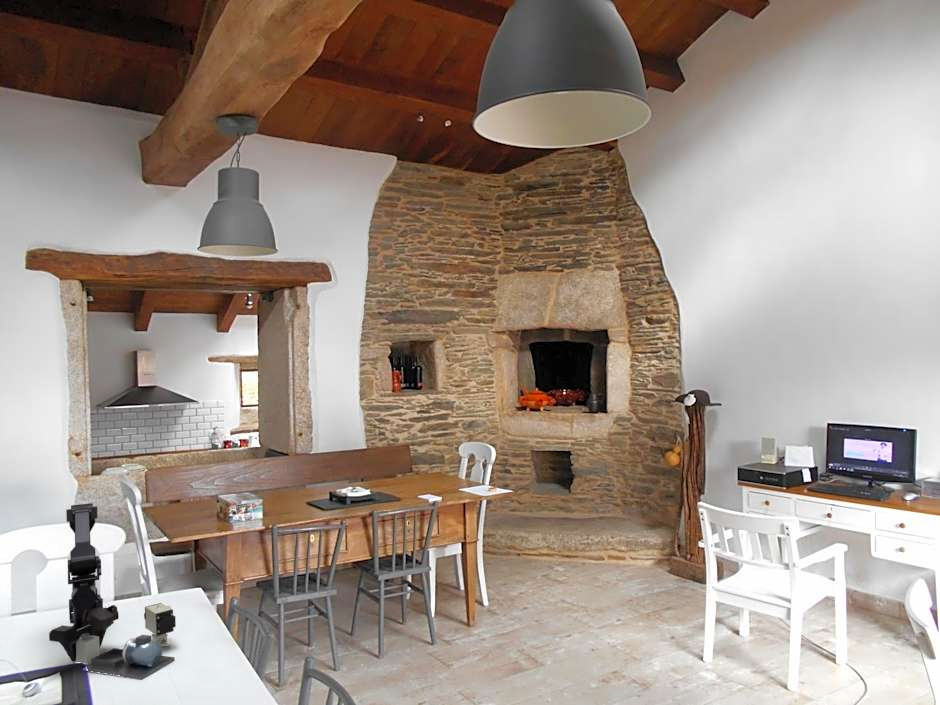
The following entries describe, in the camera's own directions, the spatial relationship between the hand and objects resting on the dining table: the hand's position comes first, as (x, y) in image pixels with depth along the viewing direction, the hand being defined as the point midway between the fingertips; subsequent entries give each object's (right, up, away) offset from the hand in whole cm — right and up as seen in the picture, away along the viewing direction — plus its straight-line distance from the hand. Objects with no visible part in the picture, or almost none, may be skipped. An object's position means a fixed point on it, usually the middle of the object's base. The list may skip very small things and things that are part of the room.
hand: (86, 655), depth 204 cm
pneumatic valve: (+17, -1, +9) cm, 19 cm away
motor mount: (+14, -1, -5) cm, 15 cm away
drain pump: (0, -1, 0) cm, 1 cm away
